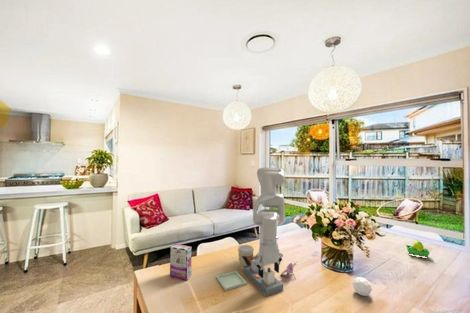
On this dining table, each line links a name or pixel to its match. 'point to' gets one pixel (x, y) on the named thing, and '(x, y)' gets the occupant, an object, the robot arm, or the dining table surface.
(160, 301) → the dining table surface
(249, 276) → the power strip
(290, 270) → the lily
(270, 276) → the cream plug
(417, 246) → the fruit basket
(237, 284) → the sage tray
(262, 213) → the robot arm
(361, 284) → the geometric ball
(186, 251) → the candy bar box
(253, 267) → the grey twin plug
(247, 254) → the coffee cup
